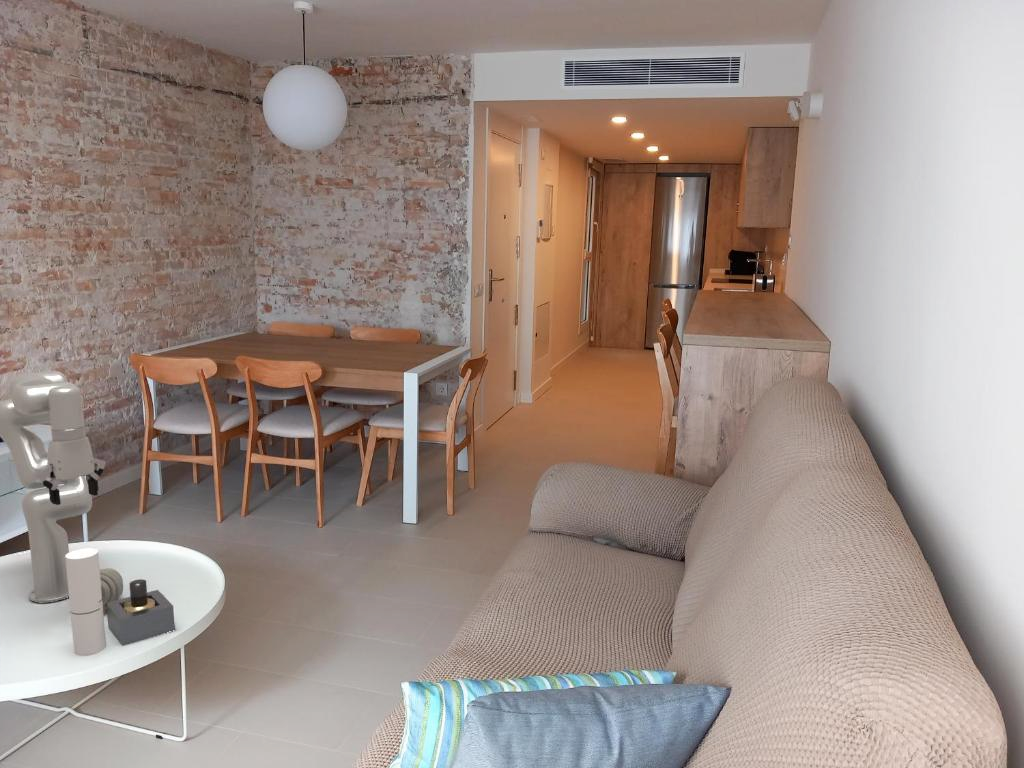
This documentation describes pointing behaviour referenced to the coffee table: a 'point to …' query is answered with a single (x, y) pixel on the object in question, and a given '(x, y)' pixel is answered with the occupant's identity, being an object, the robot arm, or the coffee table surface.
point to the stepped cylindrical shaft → (138, 597)
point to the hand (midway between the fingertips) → (75, 499)
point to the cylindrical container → (85, 601)
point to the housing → (140, 619)
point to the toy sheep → (110, 586)
